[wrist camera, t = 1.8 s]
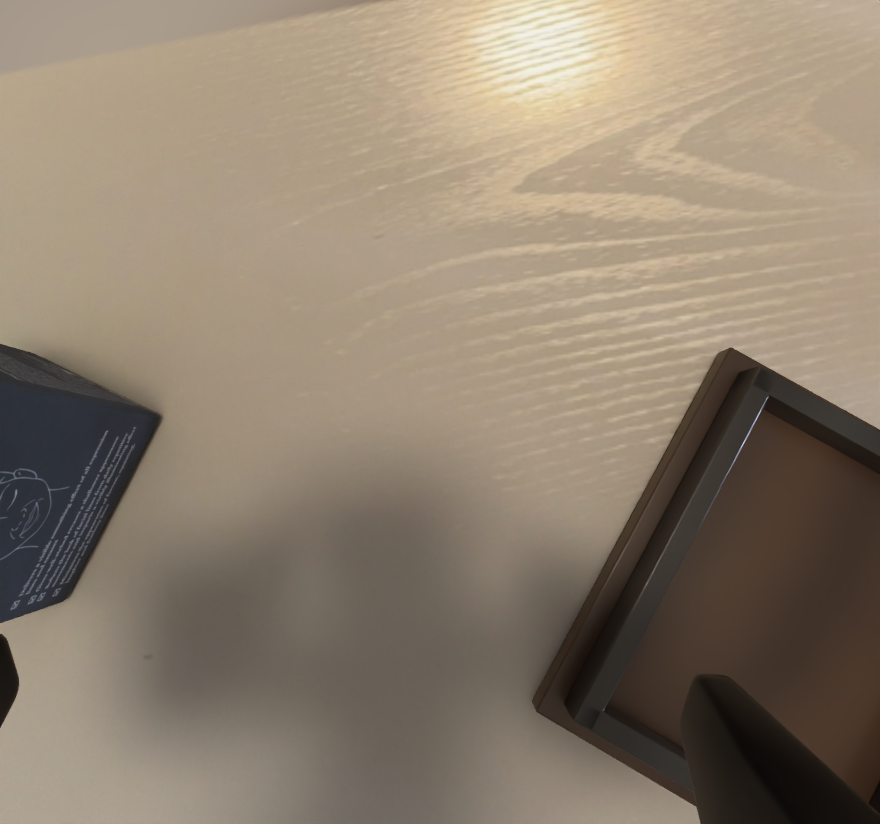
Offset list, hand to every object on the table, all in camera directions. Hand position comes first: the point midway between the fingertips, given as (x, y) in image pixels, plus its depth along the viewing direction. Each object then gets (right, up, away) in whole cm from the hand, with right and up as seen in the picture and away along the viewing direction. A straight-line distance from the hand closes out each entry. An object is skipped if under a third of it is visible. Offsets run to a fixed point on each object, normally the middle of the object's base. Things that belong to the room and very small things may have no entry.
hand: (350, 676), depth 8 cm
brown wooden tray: (+14, -4, +15) cm, 21 cm away
